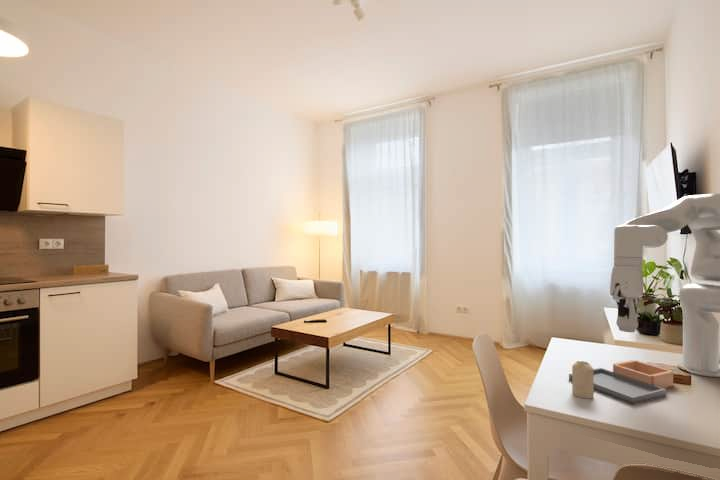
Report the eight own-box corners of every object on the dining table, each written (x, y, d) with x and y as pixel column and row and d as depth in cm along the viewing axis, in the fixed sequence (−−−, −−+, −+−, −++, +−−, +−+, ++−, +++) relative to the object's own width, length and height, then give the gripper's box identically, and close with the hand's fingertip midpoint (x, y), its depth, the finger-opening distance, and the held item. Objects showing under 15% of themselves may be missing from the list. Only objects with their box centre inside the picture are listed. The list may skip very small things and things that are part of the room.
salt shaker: (641, 333, 114) (642, 292, 114) (621, 332, 115) (622, 292, 115) (631, 329, 120) (632, 290, 120) (612, 328, 121) (613, 289, 121)
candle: (586, 400, 106) (586, 366, 106) (568, 393, 111) (568, 361, 111) (597, 396, 108) (597, 363, 109) (579, 389, 113) (579, 358, 113)
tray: (600, 373, 128) (600, 367, 128) (666, 395, 109) (666, 389, 109) (569, 379, 122) (569, 373, 122) (632, 404, 103) (632, 397, 103)
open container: (634, 372, 129) (634, 359, 129) (675, 385, 117) (675, 371, 117) (611, 377, 124) (611, 364, 124) (651, 391, 112) (651, 376, 112)
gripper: (631, 262, 124) (630, 315, 124) (599, 262, 118) (599, 317, 118) (656, 263, 117) (655, 319, 117) (623, 263, 111) (623, 322, 111)
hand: (627, 318), depth 118 cm, fingers closed on salt shaker, 3 cm apart
